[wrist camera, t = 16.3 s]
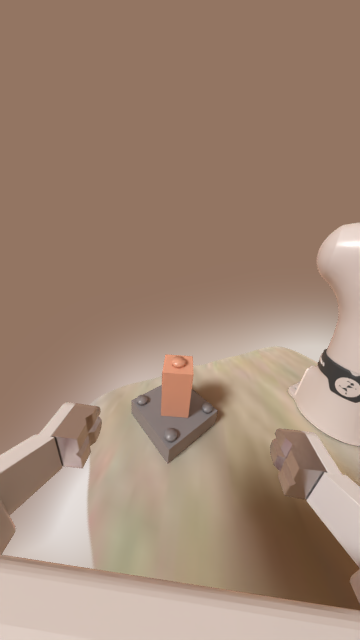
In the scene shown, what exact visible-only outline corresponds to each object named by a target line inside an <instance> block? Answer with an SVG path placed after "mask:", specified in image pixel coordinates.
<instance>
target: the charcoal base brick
mask: <svg viewBox="0 0 360 640" xmlns="http://www.w3.org/2000/svg"><path fill="white" fill-rule="evenodd" d="M161 399H162V385H161V386H159V387H157V388H155V389H153V390H151V391H149V392H147V393H145V394H143V395H140V396H138V397H137V398H135V399H133V400H132V414H133V416H134V417H135V419H136V420H137V421H138V423H139V424H140V426H141V427H142V428H143V430H144V431H145V433H146V434H147V435H148V437H149V438H150V440H151V441H152V442H153V444H154V445H155V447H156V448H157V449H158V451H159V452H160V454H161V455H162V456H163V458H164V459H165V461H166V462H167V463H169V462H170V461H172V460H173V459H174V458H175V457H176V456H177V455H179V454H180V453H181V452H182V451H183V450H184V449H186V448H187V447H188V446H189V445H190V444H192V443H193V442H194V441H195V440H196V439H197V438H199V437H200V436H201V435H202V434H203V433H204V432H206V431H207V430H208V429H209V428H210V427H211V426H213V425H214V424H215V421H216V416H217V412H218V411H217V410H216V409H215V408H214V407H213V406H212V405H211V404H210V403H208V402H207V401H206V400H204V399H203V398H202V397H201V396H200V395H199V394H197V393H196V392H195V391H194V390H193V389H192V390H191V399H190V407H189V415H188V418H184V417H171V416H161Z"/></svg>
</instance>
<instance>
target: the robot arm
mask: <svg viewBox="0 0 360 640" xmlns="http://www.w3.org/2000/svg"><path fill="white" fill-rule="evenodd" d="M317 268H318V271H319V273H320V275H321V276H322V277H323V279H324V280H325V281H326V282H327V283H328V284H329V285H330V287H331V288H332V290H333V291H334V293H335V296H336V298H337V302H338V307H339V316H338V322H337V325H336V328H335V331H334V334H333V337H332V340H331V342H330V344H329V346H328V348H327V349H325V350H324V352H323V353H322V354H321V356H320V360H319V362H318V365H317V366H313V365H312V366H311V367H310V368H308V369H307V370H306V371H305V373H304V375H303V378H302V380H301V381H300V382H298V383H296V384H294V385H292V386H290V387H289V388H288V393H289V394H290V395H291V396H292V397H293V398H294V400H295V402H296V404H297V407H298V409H299V410H300V412H301V413H302V414H303V416H304V417H305V418H306V419H307V420H308V421H309V422H310V423H311V424H313V425H314V426H315V427H316V428H318V429H319V430H321V431H322V432H324V433H325V434H327V435H329V436H331V437H333V438H335V439H337V440H339V441H341V442H344V443H347V444H351V445H355V446H360V223H353V224H347V225H343V226H341V227H339V228H338V229H336V230H335V231H334V232H332V233H331V234H330V235H329V236H328V237H327V238H326V239H325V241H324V242H323V244H322V245H321V247H320V249H319V252H318V255H317ZM99 414H100V407H97V406H91V405H84V404H77V403H70V402H66V403H65V404H63V405H62V406H61V408H60V409H59V410H58V411H57V413H56V414H55V415H54V416H53V417H52V419H51V420H50V421H49V422H48V424H47V425H46V426H45V427H44V429H43V430H42V431H41V432H40V433H39V435H33V436H32V437H30V438H28V439H27V440H25V441H23V442H22V443H20V444H18V445H17V446H15V447H13V448H12V449H10V450H8V451H7V452H5V453H4V454H1V455H0V640H360V610H354V609H347V608H341V607H335V606H328V605H322V604H315V603H309V602H302V601H296V600H289V599H283V598H277V597H270V596H264V595H257V594H251V593H244V592H238V591H232V590H225V589H219V588H212V587H206V586H199V585H193V584H187V583H180V582H174V581H167V580H161V579H154V578H148V577H142V576H135V575H129V574H122V573H116V572H109V571H103V570H97V569H90V568H84V567H77V566H70V565H64V564H57V563H51V562H45V561H39V560H32V559H26V558H19V557H13V556H6V555H2V553H3V551H4V549H5V548H6V546H7V544H8V543H9V541H10V540H11V538H12V536H13V535H14V533H15V525H14V523H13V522H12V519H11V518H10V514H12V513H13V512H14V511H15V510H16V509H17V508H18V507H20V506H21V505H22V504H23V503H24V502H25V501H26V500H27V499H28V498H29V497H31V496H32V495H33V494H34V493H35V492H36V491H37V490H38V489H39V488H41V487H42V486H43V485H44V484H45V483H46V482H47V481H48V480H49V479H51V477H53V476H54V475H55V474H56V473H57V472H58V471H59V470H60V469H61V468H62V466H64V467H74V468H83V466H84V464H85V463H86V461H87V459H88V457H89V455H90V453H91V449H90V446H91V445H92V444H94V443H95V442H96V440H97V438H98V436H99V434H100V430H101V425H102V421H101V418H100V417H99ZM275 435H276V438H275V439H274V440H272V442H271V445H270V453H271V458H272V461H273V464H274V466H275V467H276V468H277V469H278V470H279V474H278V479H279V481H280V484H281V487H282V490H283V493H284V495H285V496H288V497H294V498H300V499H306V500H307V502H308V504H309V505H310V506H311V507H312V509H313V510H314V511H315V512H316V514H317V515H318V516H319V518H320V519H321V520H322V521H323V523H324V524H325V525H326V526H327V528H328V529H329V530H330V531H331V533H332V534H333V535H334V536H335V538H336V539H337V540H338V542H339V543H340V544H341V545H342V547H343V548H344V549H345V550H346V552H347V553H348V554H349V555H350V557H351V558H352V559H353V560H354V562H355V563H356V564H357V566H358V567H359V568H360V487H359V486H358V485H357V484H356V483H355V482H354V481H352V480H351V479H350V478H349V477H348V476H347V475H342V473H341V472H340V470H339V469H338V467H337V465H336V464H335V462H334V461H333V459H332V458H331V456H330V454H329V453H328V451H327V450H326V448H325V447H324V445H323V443H322V442H321V440H320V439H319V437H318V436H317V435H316V434H315V433H312V432H304V431H298V430H289V429H280V428H279V429H277V430H276V432H275ZM350 584H351V586H352V588H353V590H354V592H355V595H356V597H357V599H358V601H359V604H360V569H359V570H358V571H357V572H355V573H354V574H353V575H352V576H351V579H350Z"/></svg>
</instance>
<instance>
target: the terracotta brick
mask: <svg viewBox="0 0 360 640" xmlns="http://www.w3.org/2000/svg"><path fill="white" fill-rule="evenodd" d="M192 382H193V357H192V356H179V355H165V361H164V366H163V372H162V399H161V416H171V417H184V418H188V415H189V407H190V399H191V390H192Z"/></svg>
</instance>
